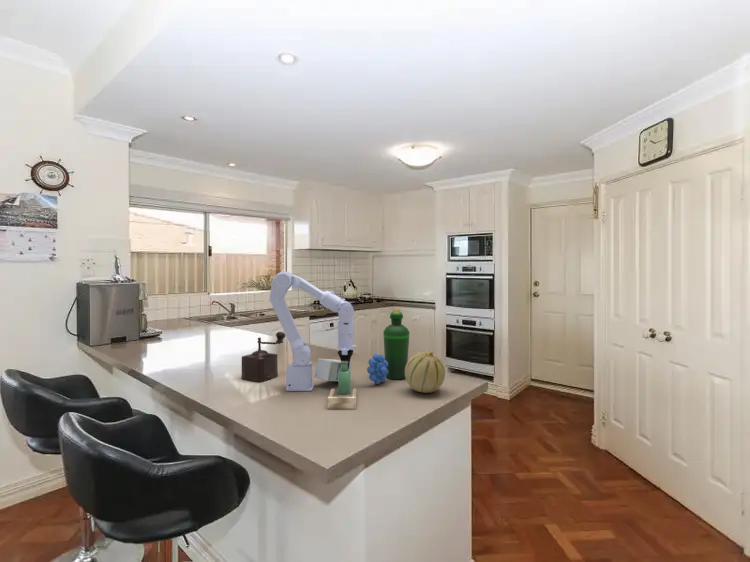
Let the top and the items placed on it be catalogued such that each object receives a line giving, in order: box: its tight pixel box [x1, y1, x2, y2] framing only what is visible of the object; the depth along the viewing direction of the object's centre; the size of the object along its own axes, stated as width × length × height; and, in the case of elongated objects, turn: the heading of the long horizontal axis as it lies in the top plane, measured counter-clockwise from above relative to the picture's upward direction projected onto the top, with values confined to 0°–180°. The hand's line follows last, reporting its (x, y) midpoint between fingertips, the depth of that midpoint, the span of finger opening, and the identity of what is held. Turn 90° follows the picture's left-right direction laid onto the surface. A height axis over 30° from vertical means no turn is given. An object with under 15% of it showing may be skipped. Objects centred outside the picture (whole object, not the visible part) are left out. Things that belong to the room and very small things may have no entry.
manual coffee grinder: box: [241, 331, 287, 384], centre depth 167 cm, size 16×11×18 cm
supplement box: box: [313, 357, 352, 382], centre depth 157 cm, size 7×7×13 cm
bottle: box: [383, 308, 410, 381], centre depth 166 cm, size 11×11×28 cm
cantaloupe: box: [404, 350, 446, 394], centre depth 147 cm, size 15×15×15 cm
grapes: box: [366, 353, 389, 385], centre depth 156 cm, size 12×7×12 cm, turn 138°
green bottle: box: [337, 360, 352, 396], centre depth 146 cm, size 4×4×11 cm
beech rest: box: [327, 388, 358, 410], centre depth 136 cm, size 9×13×4 cm
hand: (345, 369), depth 153 cm, fingers closed
